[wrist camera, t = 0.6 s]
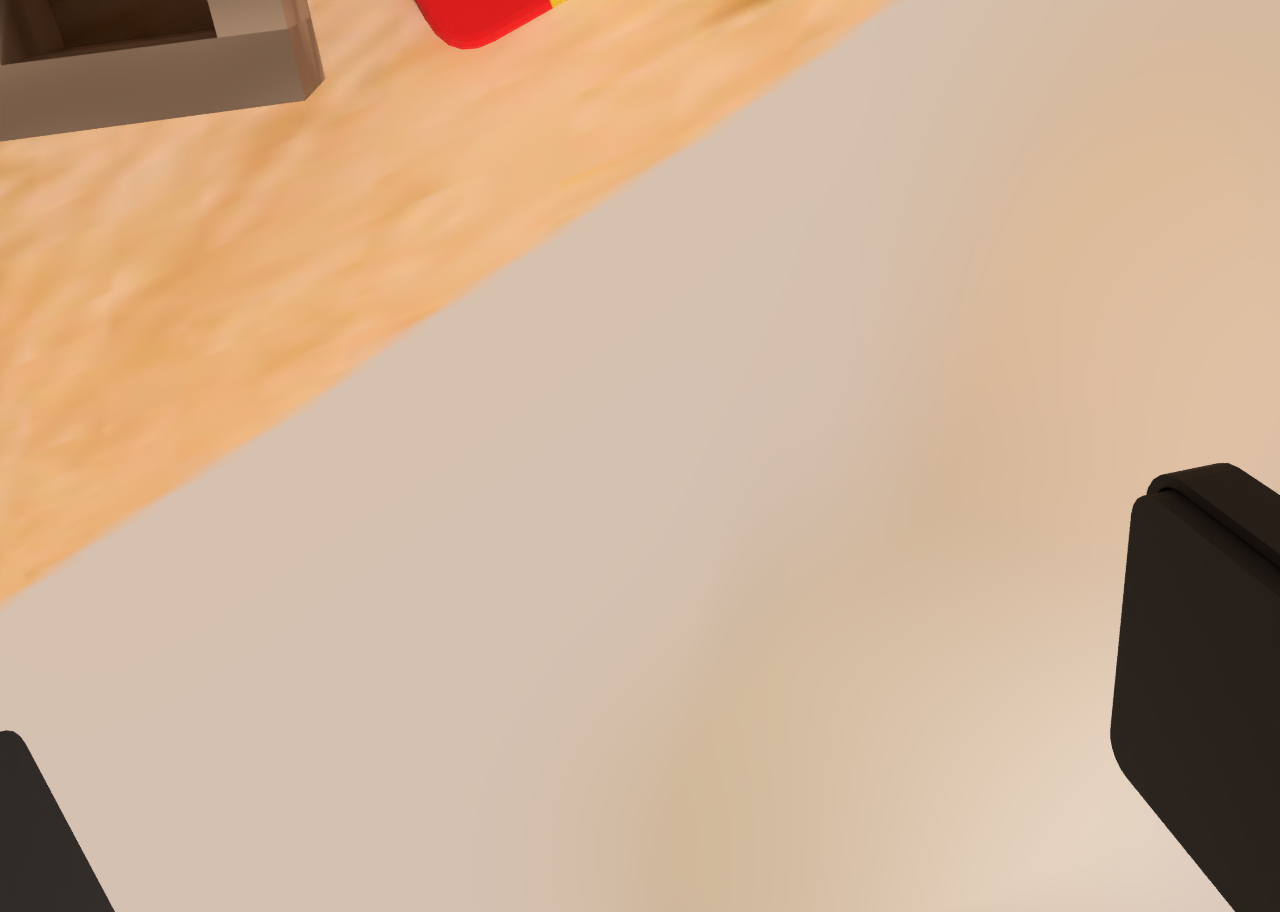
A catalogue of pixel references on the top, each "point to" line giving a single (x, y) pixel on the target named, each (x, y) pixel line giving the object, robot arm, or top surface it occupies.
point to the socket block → (152, 68)
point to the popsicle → (480, 18)
